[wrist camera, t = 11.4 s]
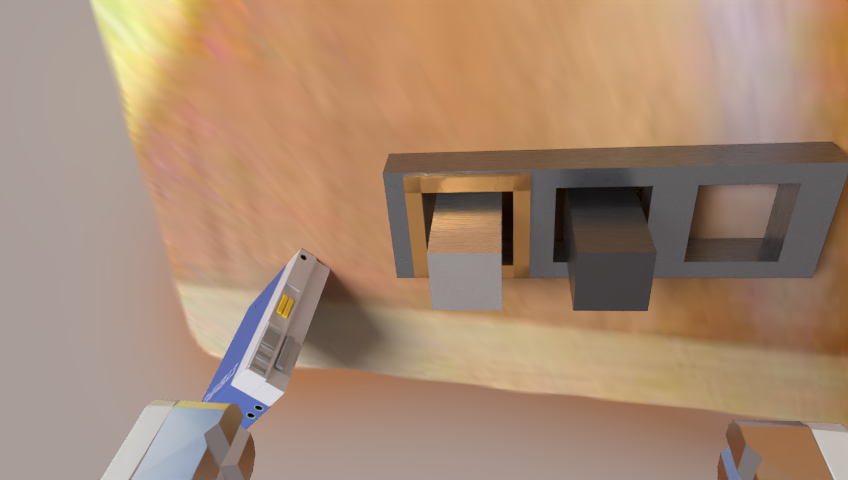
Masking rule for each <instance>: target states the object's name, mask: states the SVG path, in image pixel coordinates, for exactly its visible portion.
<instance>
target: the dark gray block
mask: <svg viewBox="0 0 848 480" xmlns="http://www.w3.org/2000/svg"><path fill="white" fill-rule="evenodd" d="M562 231H563V239H564V246H565V253H566V260H567V268H568V275H569V282H570V290H571V297H572V304H573V310H576V311H648V305H649V299H650V293H651V286H652V280H653V274H654V268H655V261H656V255H657V251H656V248H655V245H654V242H653V239H652V236H651V233H650V230H649V228H648V225H647V222H646V219H645V216H644V213H643V210H642V207H641V204H640V201H639V198H638V195H637V192H636V189H635V186H628V187H576V188H564V208H563V228H562Z"/></svg>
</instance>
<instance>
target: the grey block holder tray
mask: <svg viewBox="0 0 848 480" xmlns="http://www.w3.org/2000/svg"><path fill="white" fill-rule="evenodd" d="M847 175H848V158H847V157H846V156H845V155H844V154H843V153H842V151H841V150H840V149H839V148H838V147H837V146H836V145H835V144H834V143H833V142H811V143H775V144H738V145H701V146H665V147H628V148H592V149H555V150H518V151H482V152H445V153H409V154H389V156H388V159H387V162H386V165H385V168H384V171H383V178H384V185H385V193H386V200H387V207H388V214H389V222H390V229H391V236H392V244H393V251H394V258H395V265H396V273H397V278H429V271H428V261H427V249H428V243H429V237H430V232H431V220H430V209H429V198H428V193H448V192H501V191H513V240H502V278H569V275H568V268H567V260H566V253H565V246H564V240H554V226H555V202H556V188H576V187H628V186H642V193H641V200H640V204H641V207H642V210H643V213H644V216H645V219H646V222H647V225H648V228H649V230H650V233H651V236H652V239H653V242H654V245H655V248H656V251H657V255H656V261H655V268H654V274H653V278H812V277H813V274H814V271H815V268H816V265H817V262H818V259H819V256H820V254H821V251H822V248H823V245H824V242H825V239H826V236H827V233H828V230H829V227H830V225H831V222H832V219H833V216H834V213H835V210H836V207H837V204H838V201H839V198H840V196H841V193H842V190H843V187H844V184H845V181H846V178H847ZM733 184H779V186H778V190H777V194H776V197H775V201H774V204H773V208H772V212H771V215H770V219H769V223H768V226H767V230H766V233H765V237H764V238H747V239H688V238H689V232H690V227H691V222H692V217H693V212H694V206H695V201H696V196H697V191H698V186H699V185H733Z"/></svg>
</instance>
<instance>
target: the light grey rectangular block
mask: <svg viewBox="0 0 848 480" xmlns="http://www.w3.org/2000/svg"><path fill="white" fill-rule="evenodd" d="M427 261H428V271H429V282H430V292H431V302H432V310H502V191H501V192H448V193H437V197H436V202H435V208H434V214H433V220H432V226H431V232H430V237H429V243H428V249H427Z"/></svg>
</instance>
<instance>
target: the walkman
mask: <svg viewBox="0 0 848 480" xmlns="http://www.w3.org/2000/svg"><path fill="white" fill-rule="evenodd" d="M316 259H317V258H316V257H314V256H313V255H311V254H310V253H308V252H307V251H305V250H304V249H302V248H301V249H300V250H299V251H298V252H297V253H296V254H295V256H294V257H293V258H292V259H291V260H290V261H289V262H288V264H287V265H286V266H285V267H284V268H283V269H282V271H281V272H280V273H279V274H278V275H277V276H276V277H275V278H274V280H273V281H272V282H271V283H270V284H269V285H268V286H267V288H266V289H265V290H264V291H263V292H262V293H261V294H260V296H259V297H258V298H257V299H256V300H255V301H254V302H253V304H252V305H251V306H250V307H249V309H248V311H247V313H246V315H245V317H244V319H243V321H242V323H241V325H240V327H239V328H238V330H237V332H236V334H235V336H234V338H233V340H232V342H231V344H230V346H229V348H228V350H227V352H226V354H225V356H224V358H223V360H222V362H221V364H220V366H219V368H218V370H217V372H216V374H215V376H214V378H213V380H212V382H211V384H210V386H209V388H208V390H207V392H206V394H205V396H204V398H203V400H202V402H211V403H227V404H238V405H239V408H240V410H241V412H242V414H243V416H244V417H243V419H242V422H241V424H240V425H241V426H242V427H243V428H245V429H247V428H248V427H249V426H250V425H251V424H253V423H254V422H255V421H256V420H257V419H258V418H259V417H260V416H261V415H262V414H263V413H264V412H265V411H266V410H267V409H269V408H270V407H271V405H272V404H273V403H274V402H275V401H276V400H278V398H280V397H281V396H282V395H283V394H284V393H285V391H286V388H287V385H288V382H289V380H290V377H291V374H292V372H293V369H294V366H295V364H296V361H297V358H298V356H299V353H300V350H301V348H302V345H303V342H304V340H305V337H306V334H307V331H308V329H309V326H310V323H311V321H312V318H313V315H314V313H315V310H316V307H317V305H318V302H319V299H320V296H321V294H322V291H323V288H324V286H325V283H326V280H327V278H328V275H329V272H330V269H329V268H327V267H326V266H324V265H323V264H321V263H320V262H318V261H317V260H316Z"/></svg>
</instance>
